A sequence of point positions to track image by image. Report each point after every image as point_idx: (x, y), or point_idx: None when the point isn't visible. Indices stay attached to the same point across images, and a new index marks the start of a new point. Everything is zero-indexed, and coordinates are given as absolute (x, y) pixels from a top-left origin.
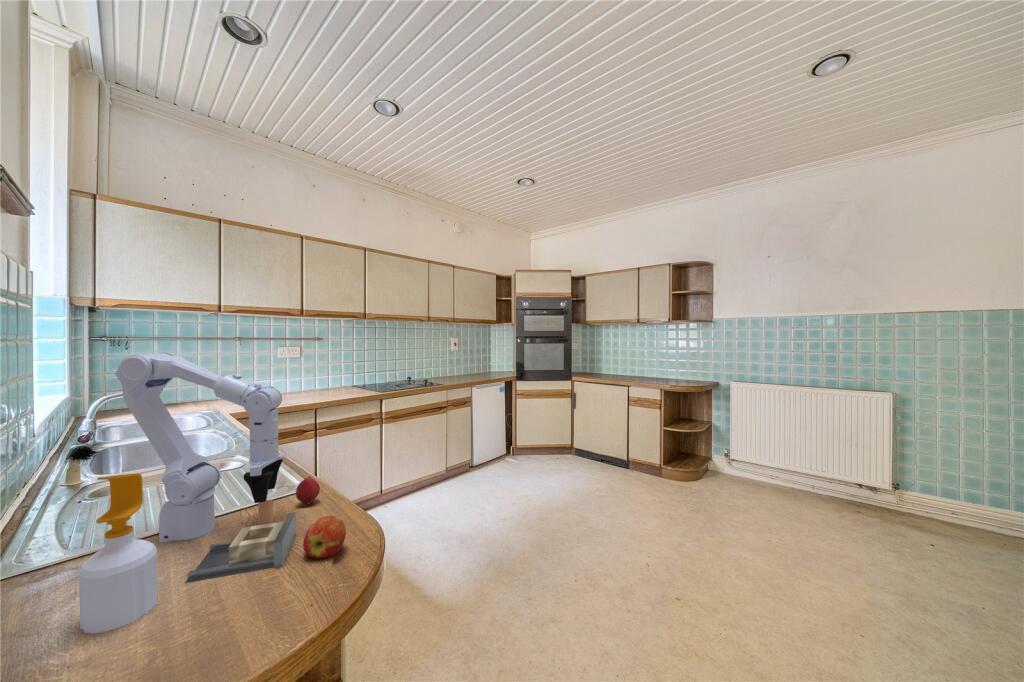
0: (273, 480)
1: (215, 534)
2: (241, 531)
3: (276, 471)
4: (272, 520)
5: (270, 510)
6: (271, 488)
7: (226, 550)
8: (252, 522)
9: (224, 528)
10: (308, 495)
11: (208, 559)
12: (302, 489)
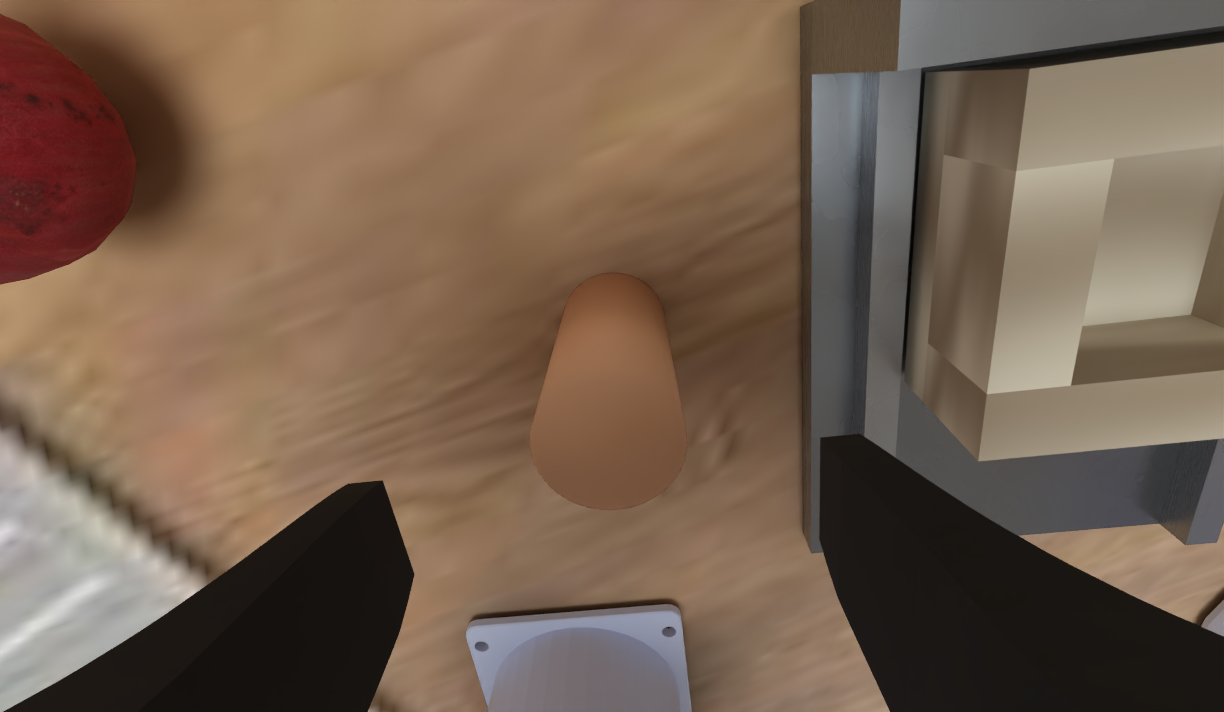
0: (322, 579)
1: (588, 600)
2: (1068, 440)
3: (186, 693)
4: (613, 300)
5: (645, 349)
6: (389, 512)
7: (909, 459)
8: (448, 464)
9: (515, 586)
10: (75, 96)
11: (988, 511)
12: (20, 185)
